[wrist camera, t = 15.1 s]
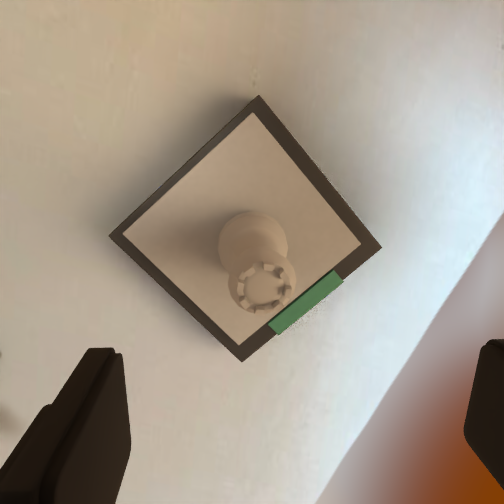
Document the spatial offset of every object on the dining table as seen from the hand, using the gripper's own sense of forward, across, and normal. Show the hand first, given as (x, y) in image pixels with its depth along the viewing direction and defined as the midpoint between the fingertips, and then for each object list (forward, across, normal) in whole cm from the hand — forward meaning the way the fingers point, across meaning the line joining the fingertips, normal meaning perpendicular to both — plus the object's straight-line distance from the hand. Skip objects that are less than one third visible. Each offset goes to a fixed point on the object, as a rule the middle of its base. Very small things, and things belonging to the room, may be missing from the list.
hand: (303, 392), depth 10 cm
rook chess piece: (+16, 0, 0) cm, 16 cm away
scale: (+19, 0, +1) cm, 19 cm away
